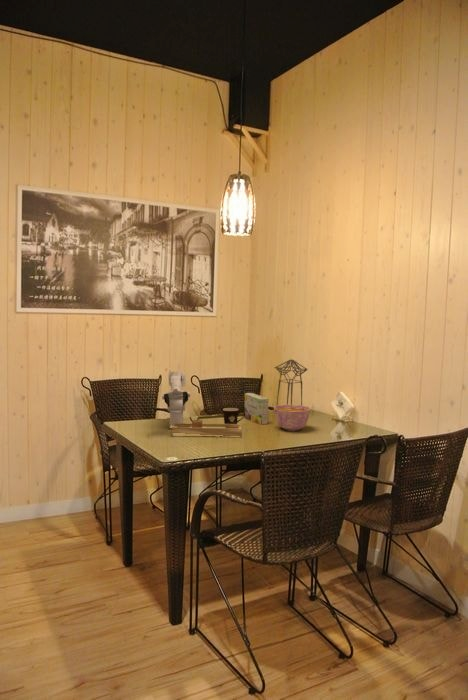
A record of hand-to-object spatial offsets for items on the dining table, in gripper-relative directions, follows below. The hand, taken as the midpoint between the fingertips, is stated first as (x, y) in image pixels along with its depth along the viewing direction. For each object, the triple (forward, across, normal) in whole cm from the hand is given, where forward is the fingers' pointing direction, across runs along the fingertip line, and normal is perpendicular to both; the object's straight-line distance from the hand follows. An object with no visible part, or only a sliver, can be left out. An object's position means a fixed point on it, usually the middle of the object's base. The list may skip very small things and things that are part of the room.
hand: (175, 404), depth 281 cm
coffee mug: (-11, +28, +27) cm, 41 cm away
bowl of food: (-6, +60, +28) cm, 67 cm away
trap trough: (+3, +14, +18) cm, 23 cm away
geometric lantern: (-37, +64, +42) cm, 85 cm away
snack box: (-26, +42, +35) cm, 61 cm away
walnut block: (+1, +9, +15) cm, 18 cm away
